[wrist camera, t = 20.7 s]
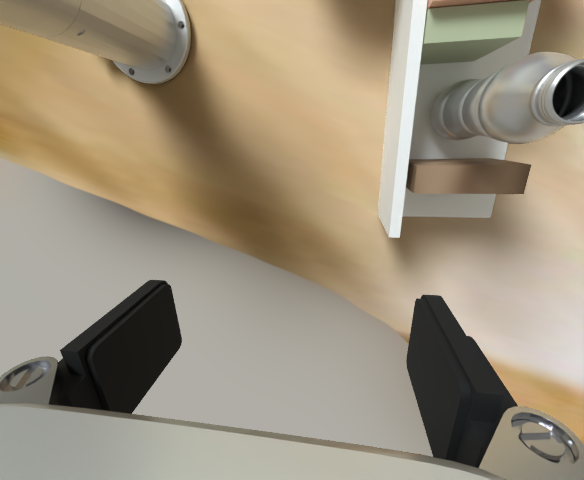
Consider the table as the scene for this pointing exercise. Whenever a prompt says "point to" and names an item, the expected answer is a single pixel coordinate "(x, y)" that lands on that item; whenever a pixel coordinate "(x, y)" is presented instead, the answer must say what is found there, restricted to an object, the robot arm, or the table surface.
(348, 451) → the robot arm
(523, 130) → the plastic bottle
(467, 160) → the bookend
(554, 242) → the table surface
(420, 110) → the shelf
